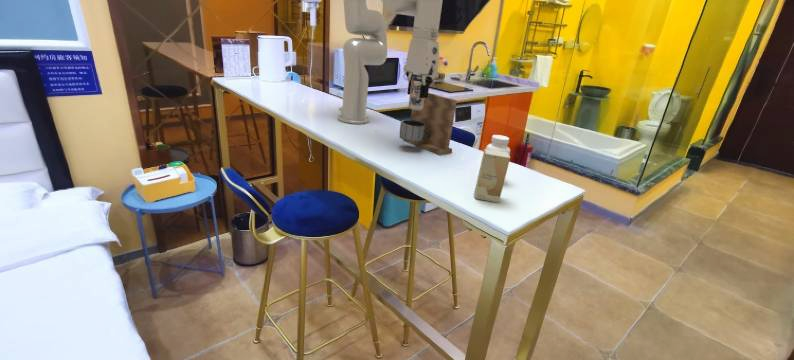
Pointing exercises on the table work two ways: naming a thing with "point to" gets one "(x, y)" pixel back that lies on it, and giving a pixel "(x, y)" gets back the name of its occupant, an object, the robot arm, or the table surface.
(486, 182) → the skincare box
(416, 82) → the beer can
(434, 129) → the cup bracket
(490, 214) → the table surface
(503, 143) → the supplement bottle
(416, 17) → the robot arm
